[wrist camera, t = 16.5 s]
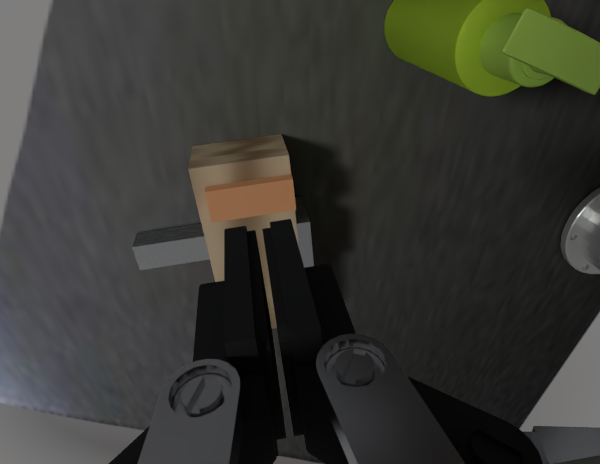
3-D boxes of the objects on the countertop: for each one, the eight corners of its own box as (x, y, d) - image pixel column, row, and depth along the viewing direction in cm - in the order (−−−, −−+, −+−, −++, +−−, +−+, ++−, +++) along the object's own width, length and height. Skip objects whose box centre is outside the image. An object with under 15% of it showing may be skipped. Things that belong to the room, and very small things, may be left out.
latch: (291, 174, 35) (292, 178, 35) (294, 204, 37) (296, 209, 36) (205, 186, 35) (204, 191, 34) (211, 217, 36) (211, 222, 35)
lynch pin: (301, 196, 43) (309, 221, 38) (305, 241, 45) (314, 269, 41) (133, 221, 41) (122, 250, 37) (147, 265, 44) (139, 298, 39)
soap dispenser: (393, -35, 34) (563, -47, 17) (464, 1, 36) (681, 22, 19) (361, 42, 36) (482, 99, 19) (430, 71, 38) (594, 146, 21)
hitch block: (281, 134, 39) (288, 154, 35) (299, 289, 49) (307, 322, 44) (192, 146, 39) (188, 169, 34) (228, 301, 48) (228, 336, 43)
